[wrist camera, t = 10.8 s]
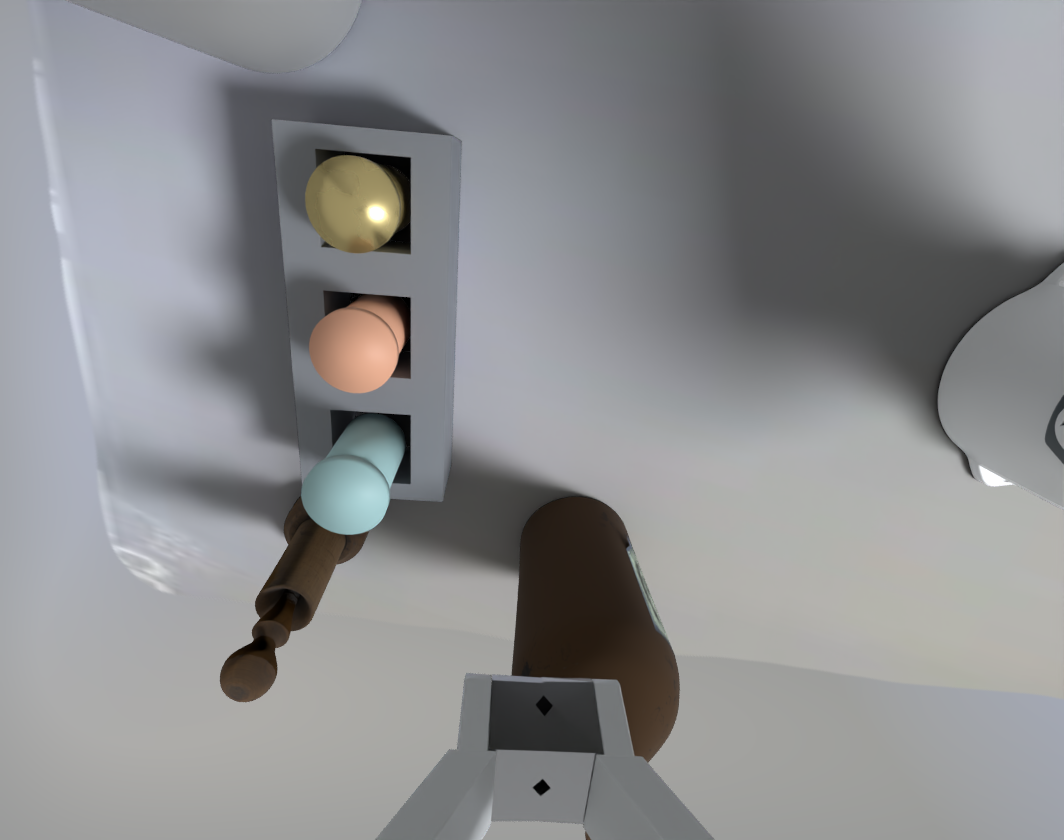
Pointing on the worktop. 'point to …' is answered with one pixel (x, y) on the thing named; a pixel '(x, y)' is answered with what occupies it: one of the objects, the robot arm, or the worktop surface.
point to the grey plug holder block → (392, 269)
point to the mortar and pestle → (287, 601)
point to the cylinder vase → (242, 27)
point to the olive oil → (594, 615)
